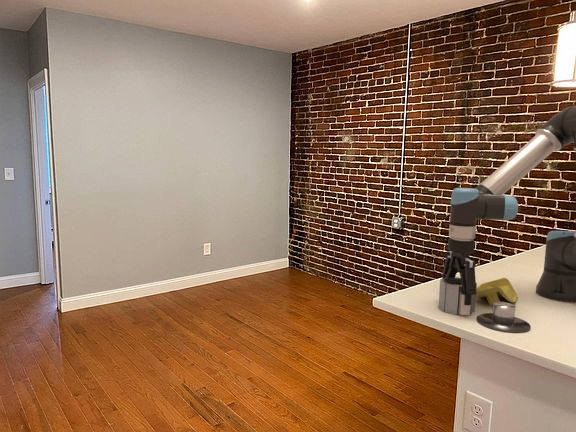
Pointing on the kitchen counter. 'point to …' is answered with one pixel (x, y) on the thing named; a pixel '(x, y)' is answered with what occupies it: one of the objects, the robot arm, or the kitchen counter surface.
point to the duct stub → (503, 319)
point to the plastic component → (497, 291)
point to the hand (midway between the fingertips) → (456, 308)
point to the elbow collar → (453, 296)
